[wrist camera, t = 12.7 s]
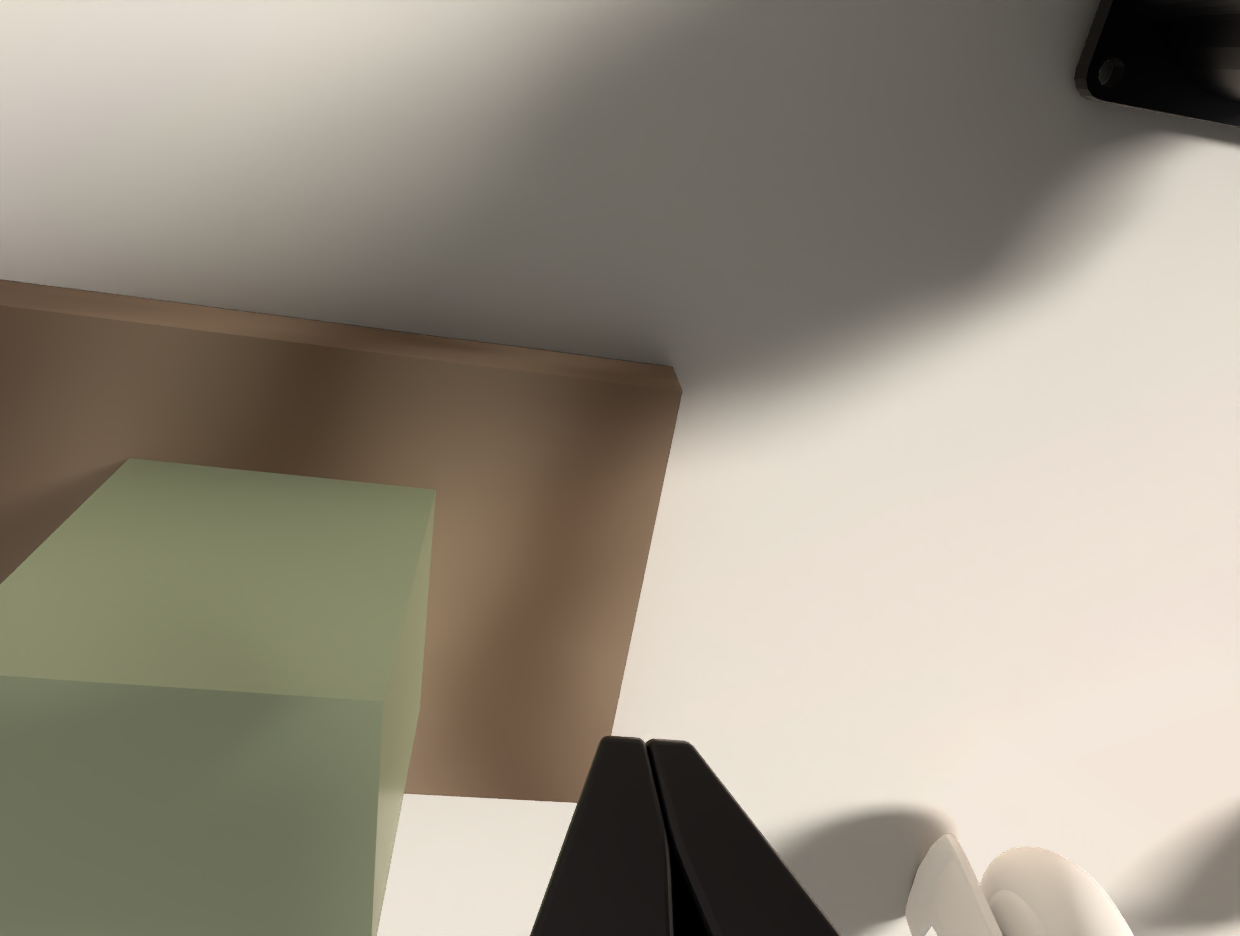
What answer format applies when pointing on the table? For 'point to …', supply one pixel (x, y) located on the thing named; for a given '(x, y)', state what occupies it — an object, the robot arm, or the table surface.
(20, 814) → the sage green cube
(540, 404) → the brown rectangular block
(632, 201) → the table surface
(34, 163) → the table surface
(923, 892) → the headset
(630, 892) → the robot arm
